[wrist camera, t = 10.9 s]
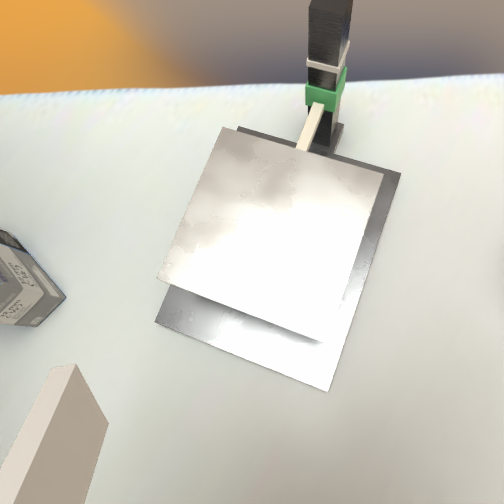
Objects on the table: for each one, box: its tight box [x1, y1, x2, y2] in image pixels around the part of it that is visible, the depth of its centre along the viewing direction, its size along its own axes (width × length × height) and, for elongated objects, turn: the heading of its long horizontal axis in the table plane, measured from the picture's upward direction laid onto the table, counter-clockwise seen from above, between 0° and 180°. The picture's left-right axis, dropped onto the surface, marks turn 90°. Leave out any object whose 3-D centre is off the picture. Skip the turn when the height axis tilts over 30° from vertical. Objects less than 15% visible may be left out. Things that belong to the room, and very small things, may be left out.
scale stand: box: [155, 0, 401, 392], centre depth 30 cm, size 15×22×16 cm
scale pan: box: [157, 102, 384, 343], centre depth 33 cm, size 12×16×7 cm
